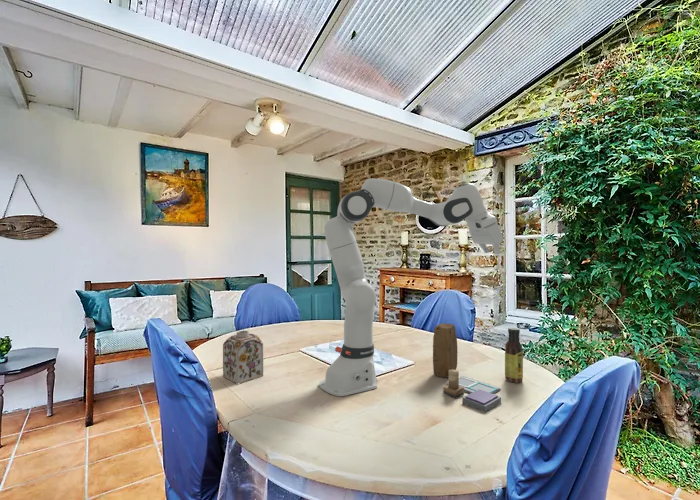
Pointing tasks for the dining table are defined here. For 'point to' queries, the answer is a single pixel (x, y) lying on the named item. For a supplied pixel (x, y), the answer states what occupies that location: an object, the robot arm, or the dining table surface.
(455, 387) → the stamp
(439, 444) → the dining table surface
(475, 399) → the ink pad
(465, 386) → the board
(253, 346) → the decorative jar
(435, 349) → the block
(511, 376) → the sauce bottle
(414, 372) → the dining table surface
